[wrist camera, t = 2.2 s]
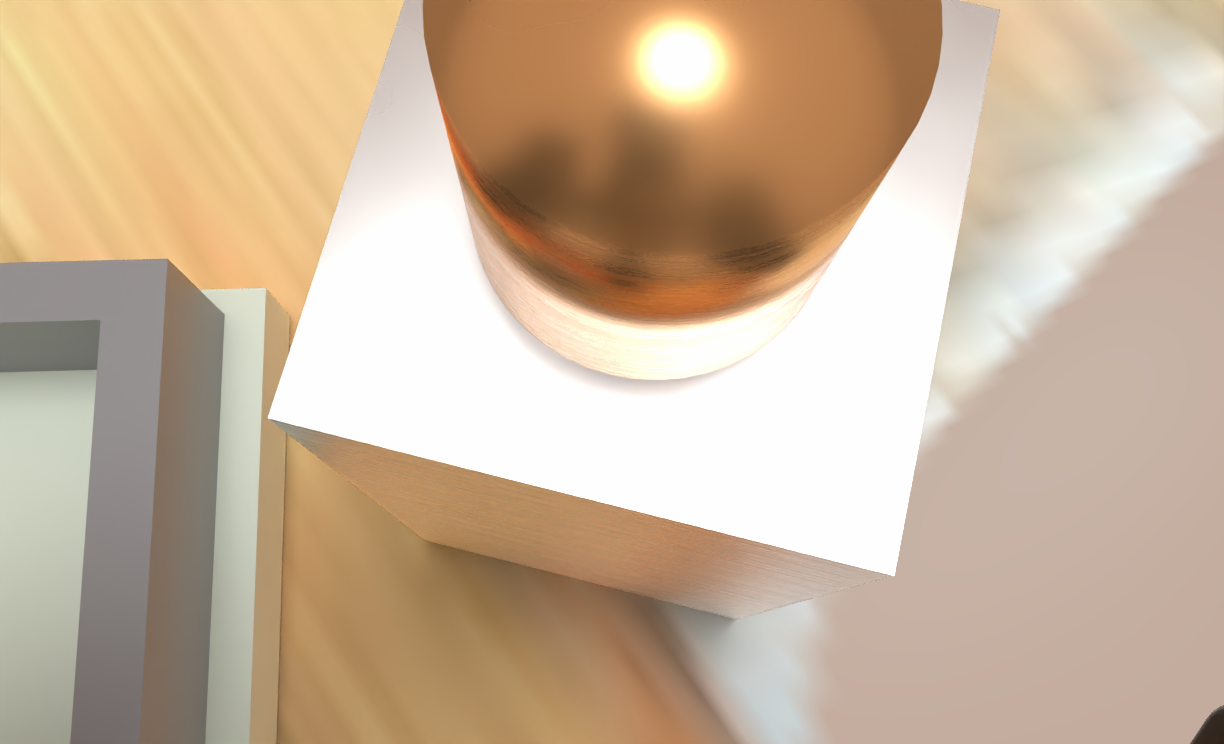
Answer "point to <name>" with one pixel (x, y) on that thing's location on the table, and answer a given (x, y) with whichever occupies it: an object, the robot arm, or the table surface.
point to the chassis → (138, 506)
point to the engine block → (647, 285)
